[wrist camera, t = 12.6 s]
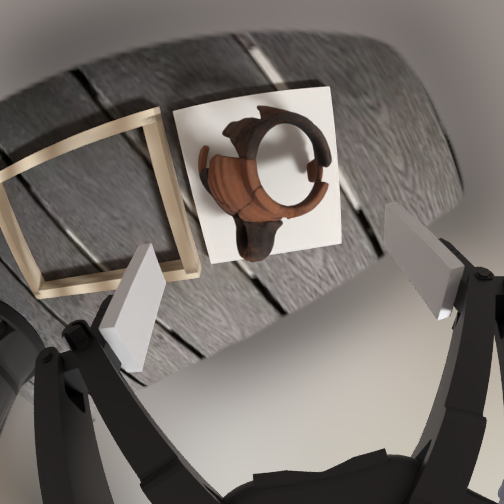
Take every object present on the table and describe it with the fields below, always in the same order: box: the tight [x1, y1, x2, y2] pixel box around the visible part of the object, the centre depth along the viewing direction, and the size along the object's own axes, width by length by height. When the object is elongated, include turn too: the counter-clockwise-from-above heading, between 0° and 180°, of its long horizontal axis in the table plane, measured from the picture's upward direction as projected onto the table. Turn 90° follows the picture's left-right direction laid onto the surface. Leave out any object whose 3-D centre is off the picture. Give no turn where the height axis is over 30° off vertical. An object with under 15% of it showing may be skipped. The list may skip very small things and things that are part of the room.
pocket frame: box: [0, 107, 201, 299], centre depth 27 cm, size 22×16×2 cm
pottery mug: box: [198, 105, 332, 262], centre depth 23 cm, size 12×10×8 cm
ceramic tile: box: [173, 86, 341, 264], centre depth 26 cm, size 13×15×1 cm
